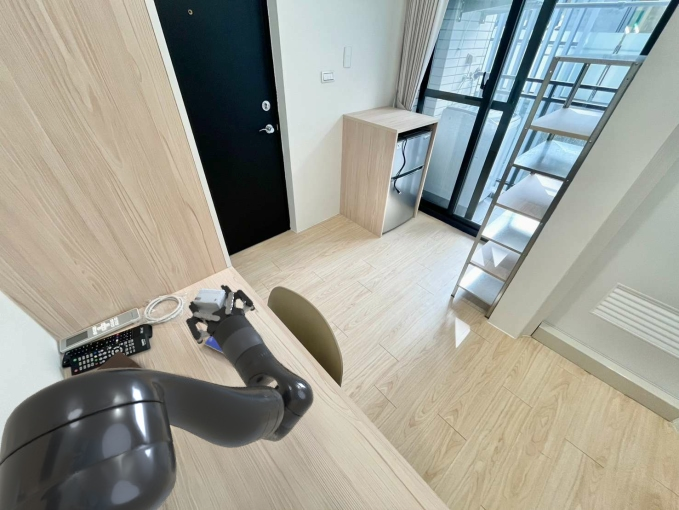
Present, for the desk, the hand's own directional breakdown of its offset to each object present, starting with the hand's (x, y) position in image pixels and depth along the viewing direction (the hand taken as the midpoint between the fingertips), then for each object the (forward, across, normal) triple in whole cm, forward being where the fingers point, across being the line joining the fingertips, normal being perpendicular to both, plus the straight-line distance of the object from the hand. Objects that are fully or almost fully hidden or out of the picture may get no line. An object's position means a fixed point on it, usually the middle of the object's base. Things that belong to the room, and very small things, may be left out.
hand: (207, 295), depth 65 cm
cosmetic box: (-2, 0, +10) cm, 10 cm away
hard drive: (-2, 0, +20) cm, 20 cm away
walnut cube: (+8, +25, +20) cm, 33 cm away
